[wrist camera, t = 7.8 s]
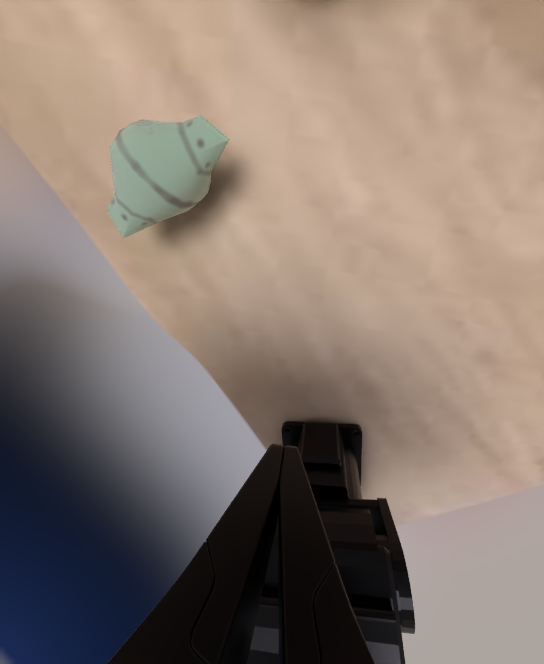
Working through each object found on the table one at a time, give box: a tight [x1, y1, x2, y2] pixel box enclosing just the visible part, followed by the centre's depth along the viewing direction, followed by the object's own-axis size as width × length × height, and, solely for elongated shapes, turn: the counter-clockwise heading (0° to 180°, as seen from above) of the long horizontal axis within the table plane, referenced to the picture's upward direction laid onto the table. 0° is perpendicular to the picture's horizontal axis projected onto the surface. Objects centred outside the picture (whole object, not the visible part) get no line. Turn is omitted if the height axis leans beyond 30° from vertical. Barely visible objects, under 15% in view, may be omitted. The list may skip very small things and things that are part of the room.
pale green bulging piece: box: [107, 116, 229, 238], centre depth 16 cm, size 8×4×7 cm, turn 125°
